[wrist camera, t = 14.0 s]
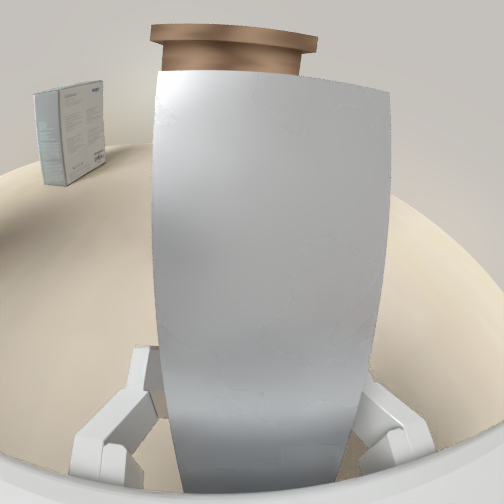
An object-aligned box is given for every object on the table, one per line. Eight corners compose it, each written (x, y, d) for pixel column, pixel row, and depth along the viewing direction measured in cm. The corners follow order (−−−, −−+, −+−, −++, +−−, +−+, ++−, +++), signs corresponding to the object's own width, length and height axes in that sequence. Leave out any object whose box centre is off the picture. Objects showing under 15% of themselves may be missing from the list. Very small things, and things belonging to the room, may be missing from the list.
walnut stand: (154, 277, 34) (151, 24, 19) (168, 221, 44) (173, 37, 30) (278, 280, 36) (318, 36, 21) (263, 225, 46) (287, 45, 32)
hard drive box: (83, 161, 66) (79, 82, 55) (107, 162, 65) (105, 79, 54) (41, 184, 53) (33, 92, 42) (66, 187, 52) (58, 88, 41)
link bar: (101, 77, 4) (152, 125, 8) (196, 590, 8) (195, 537, 13) (430, 104, 5) (346, 133, 9) (303, 583, 9) (289, 532, 13)
